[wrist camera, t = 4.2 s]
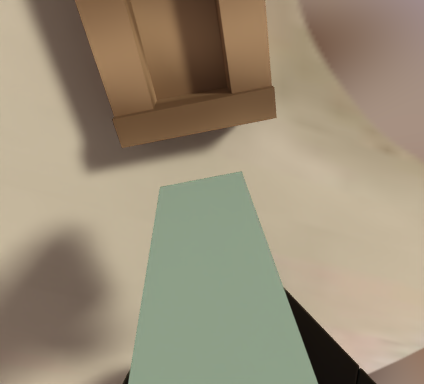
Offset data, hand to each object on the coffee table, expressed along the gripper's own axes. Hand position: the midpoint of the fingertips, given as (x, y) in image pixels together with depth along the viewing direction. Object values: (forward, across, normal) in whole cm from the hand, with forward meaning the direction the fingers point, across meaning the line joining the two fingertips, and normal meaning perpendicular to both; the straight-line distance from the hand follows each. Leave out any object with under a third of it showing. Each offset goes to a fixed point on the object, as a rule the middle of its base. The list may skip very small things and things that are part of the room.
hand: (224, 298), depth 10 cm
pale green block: (+2, 0, 0) cm, 2 cm away
